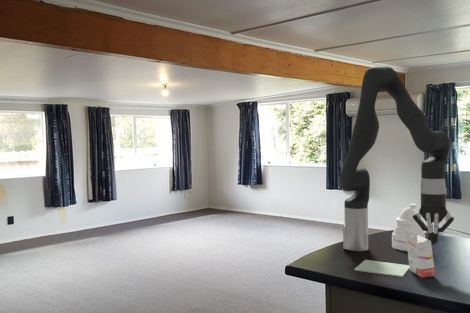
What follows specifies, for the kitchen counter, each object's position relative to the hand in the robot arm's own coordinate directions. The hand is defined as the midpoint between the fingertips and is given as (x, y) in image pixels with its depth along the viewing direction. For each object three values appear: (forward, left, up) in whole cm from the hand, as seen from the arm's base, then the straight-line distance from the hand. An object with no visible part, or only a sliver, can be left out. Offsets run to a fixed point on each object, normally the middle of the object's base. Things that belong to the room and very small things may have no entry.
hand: (433, 244), depth 146 cm
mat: (-16, 0, -10) cm, 19 cm away
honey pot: (-14, +34, -11) cm, 38 cm away
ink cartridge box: (-3, 0, -10) cm, 11 cm away
